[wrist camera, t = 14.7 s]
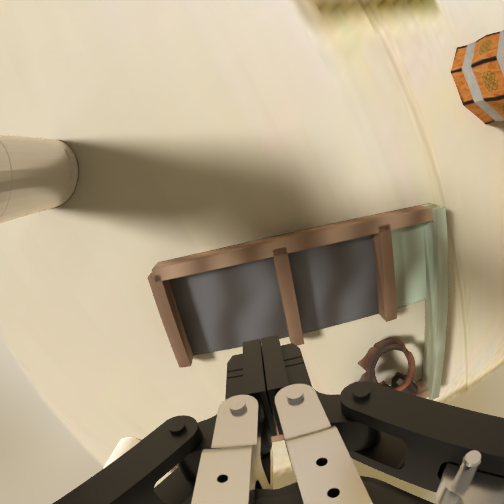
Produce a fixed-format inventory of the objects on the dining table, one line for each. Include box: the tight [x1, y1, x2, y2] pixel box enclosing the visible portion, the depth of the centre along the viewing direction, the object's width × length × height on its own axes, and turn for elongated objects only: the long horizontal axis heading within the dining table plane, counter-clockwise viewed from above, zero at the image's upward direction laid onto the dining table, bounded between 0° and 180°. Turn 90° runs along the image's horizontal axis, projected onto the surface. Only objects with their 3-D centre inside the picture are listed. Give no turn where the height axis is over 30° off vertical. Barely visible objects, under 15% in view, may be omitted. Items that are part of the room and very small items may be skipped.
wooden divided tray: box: [148, 203, 448, 442], centre depth 41 cm, size 38×31×4 cm
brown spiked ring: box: [354, 338, 418, 396], centre depth 43 cm, size 12×10×8 cm
